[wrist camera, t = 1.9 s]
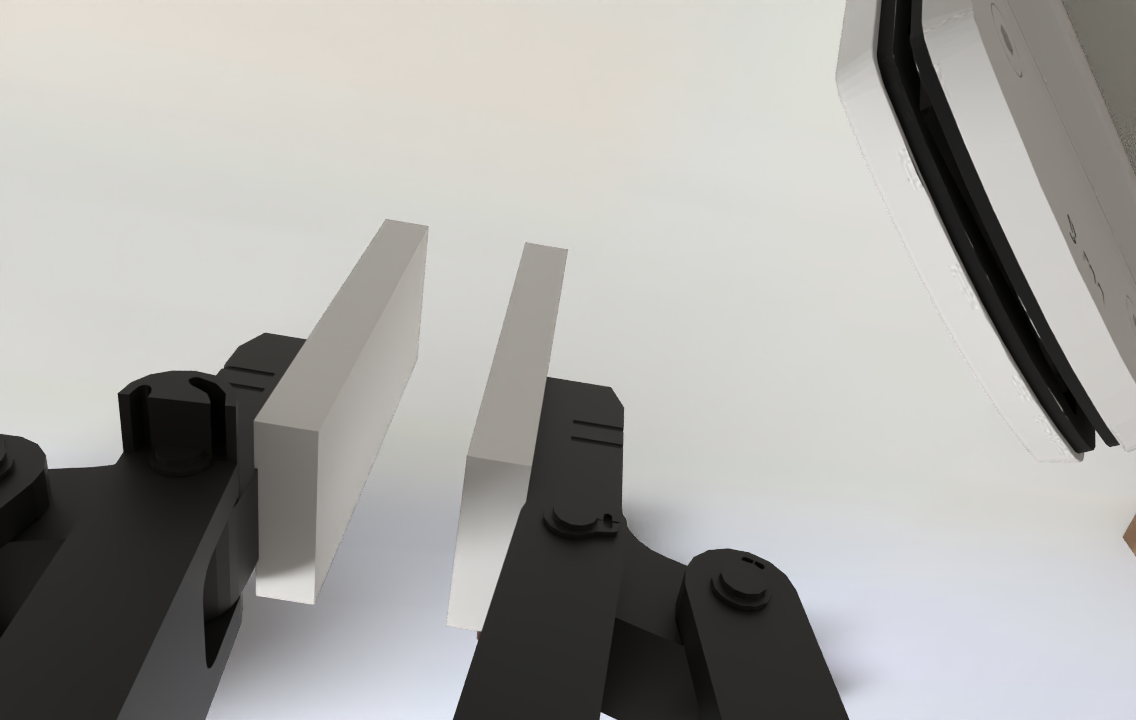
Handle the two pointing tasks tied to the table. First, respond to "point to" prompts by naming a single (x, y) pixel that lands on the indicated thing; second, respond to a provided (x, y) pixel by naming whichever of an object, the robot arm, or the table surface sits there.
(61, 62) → the table surface
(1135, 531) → the frame
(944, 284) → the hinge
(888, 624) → the table surface
